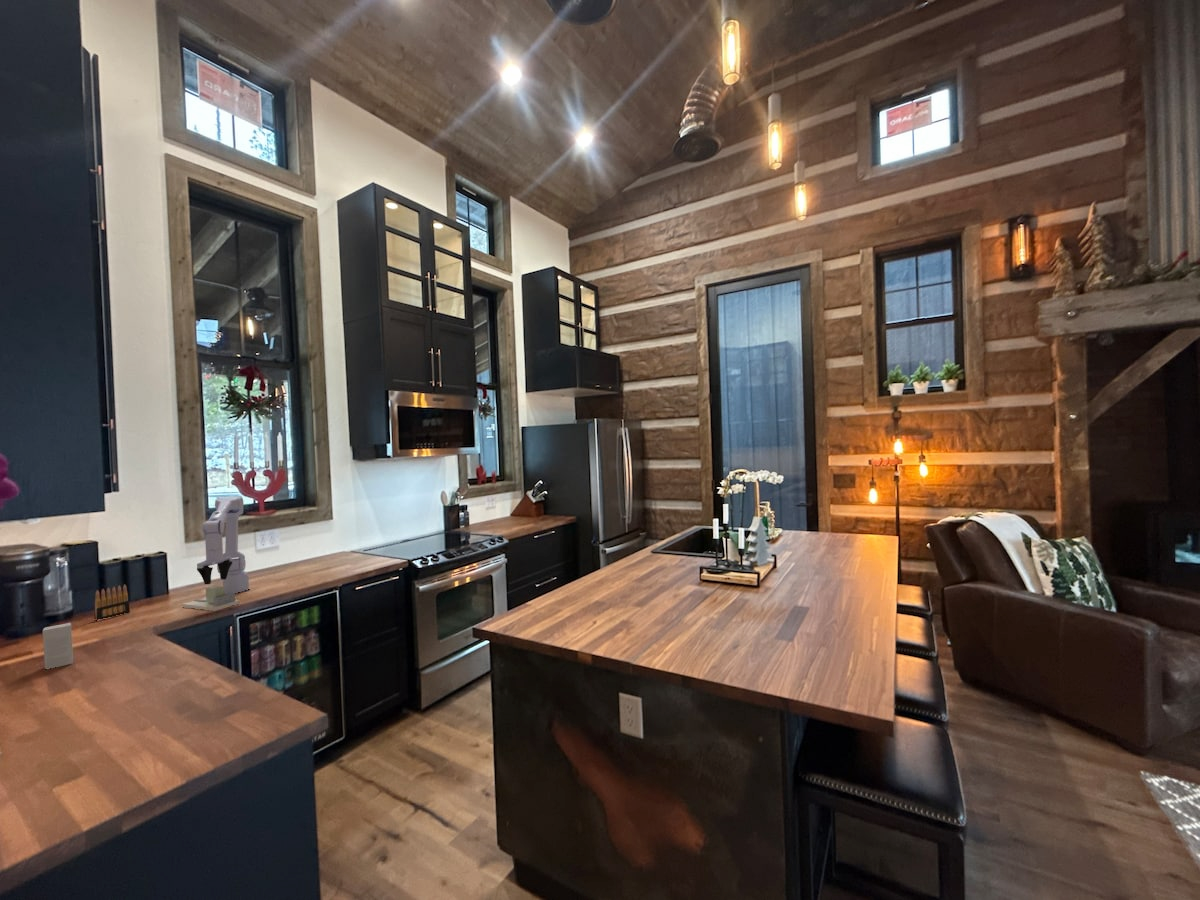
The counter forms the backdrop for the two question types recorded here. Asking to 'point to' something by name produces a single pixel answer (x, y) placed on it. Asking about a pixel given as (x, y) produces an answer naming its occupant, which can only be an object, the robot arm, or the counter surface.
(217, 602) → the end stop
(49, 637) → the skincare box
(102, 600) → the ammunition clip
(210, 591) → the keeper
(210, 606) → the track board
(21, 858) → the counter surface
